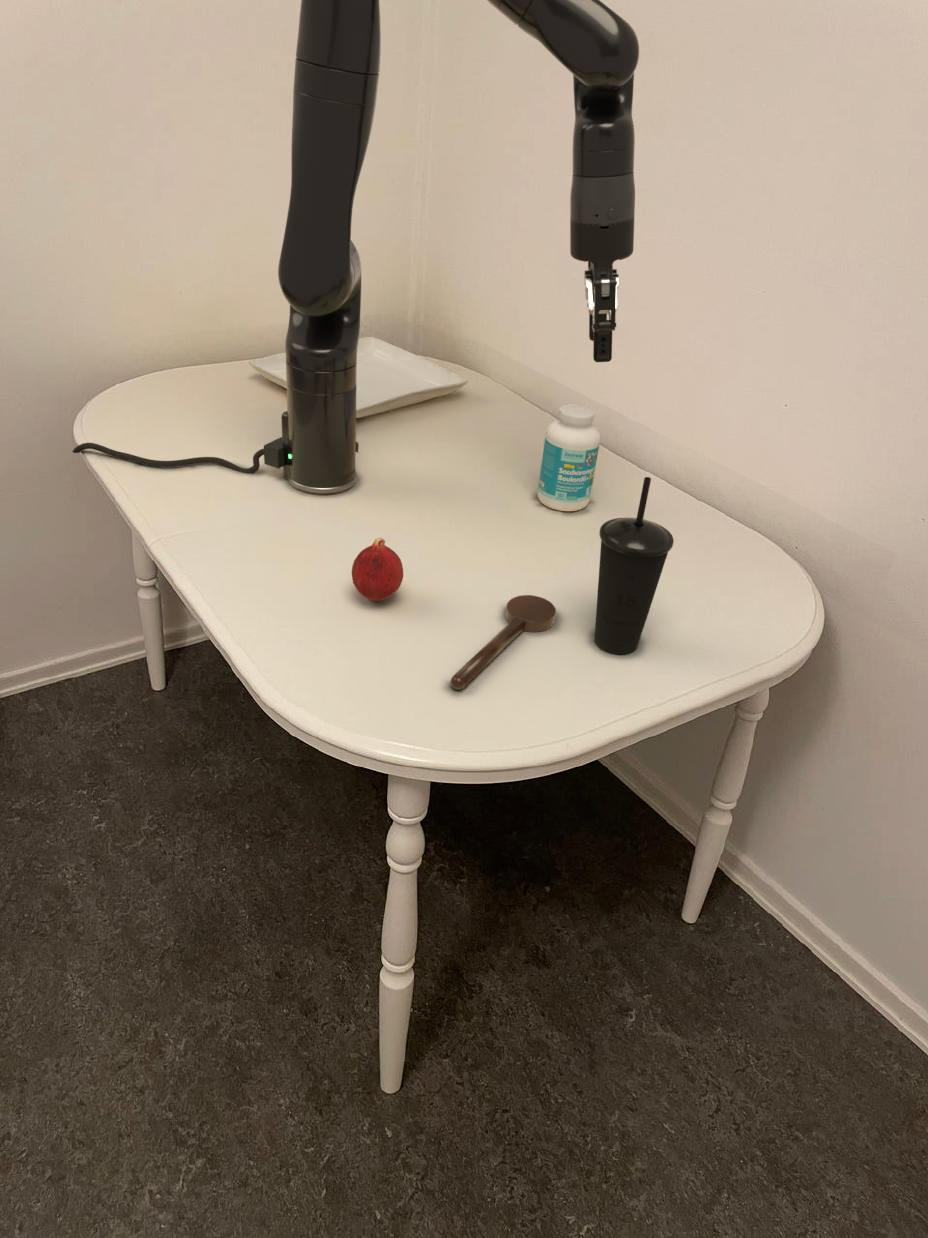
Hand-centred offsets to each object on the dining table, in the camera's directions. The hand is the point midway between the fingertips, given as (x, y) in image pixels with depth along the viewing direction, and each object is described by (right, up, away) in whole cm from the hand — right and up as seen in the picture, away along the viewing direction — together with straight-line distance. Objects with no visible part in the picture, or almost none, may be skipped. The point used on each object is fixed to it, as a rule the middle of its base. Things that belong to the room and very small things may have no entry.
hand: (599, 350), depth 122 cm
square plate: (-36, +5, +43) cm, 56 cm away
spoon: (-14, -37, -18) cm, 44 cm away
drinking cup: (0, -37, -15) cm, 40 cm away
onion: (-27, -32, -12) cm, 44 cm away
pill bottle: (-3, -18, +13) cm, 22 cm away
